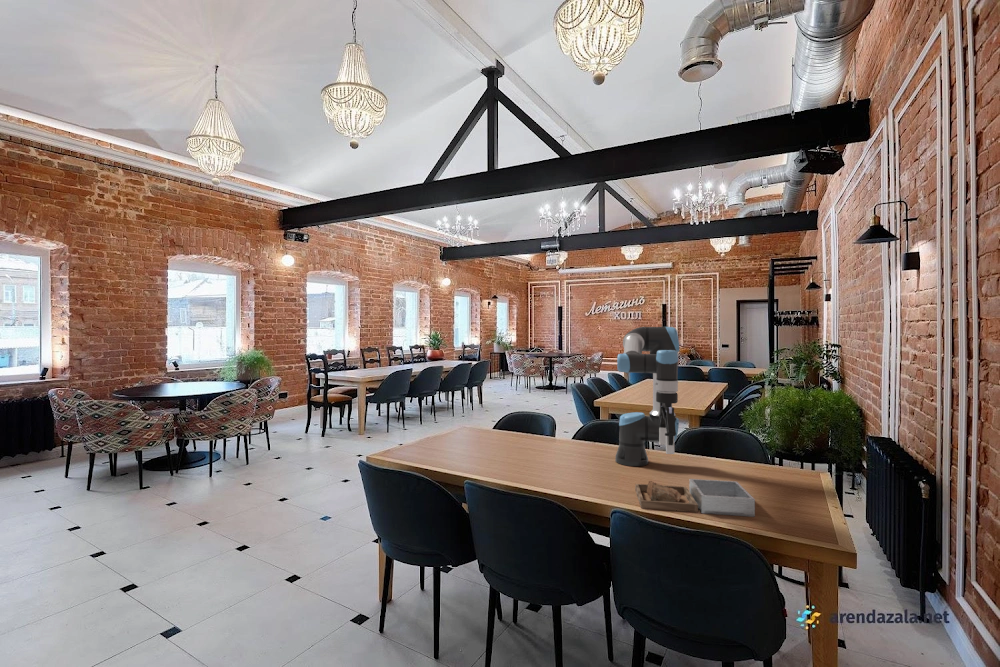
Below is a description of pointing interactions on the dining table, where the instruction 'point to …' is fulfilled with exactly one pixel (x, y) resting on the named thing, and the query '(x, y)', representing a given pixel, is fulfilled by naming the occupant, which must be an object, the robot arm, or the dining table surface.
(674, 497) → the stone
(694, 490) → the bin
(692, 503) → the frame
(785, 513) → the dining table surface
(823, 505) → the dining table surface
